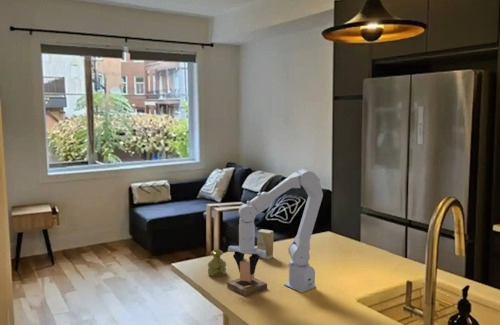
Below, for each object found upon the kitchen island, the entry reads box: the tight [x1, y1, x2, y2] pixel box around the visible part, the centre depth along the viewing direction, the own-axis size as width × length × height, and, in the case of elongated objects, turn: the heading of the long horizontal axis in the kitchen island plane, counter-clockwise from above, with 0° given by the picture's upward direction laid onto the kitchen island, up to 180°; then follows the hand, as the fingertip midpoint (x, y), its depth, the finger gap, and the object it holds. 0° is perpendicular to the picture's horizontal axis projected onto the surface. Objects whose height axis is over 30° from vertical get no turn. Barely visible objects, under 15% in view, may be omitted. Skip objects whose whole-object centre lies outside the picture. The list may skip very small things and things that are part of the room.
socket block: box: [226, 277, 268, 297], centre depth 164 cm, size 10×10×2 cm
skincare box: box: [256, 228, 275, 260], centre depth 197 cm, size 6×4×12 cm
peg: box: [239, 257, 255, 282], centre depth 163 cm, size 4×4×7 cm
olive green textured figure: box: [207, 248, 227, 278], centre depth 178 cm, size 7×7×10 cm
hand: (246, 272), depth 163 cm, fingers closed on peg, 4 cm apart
